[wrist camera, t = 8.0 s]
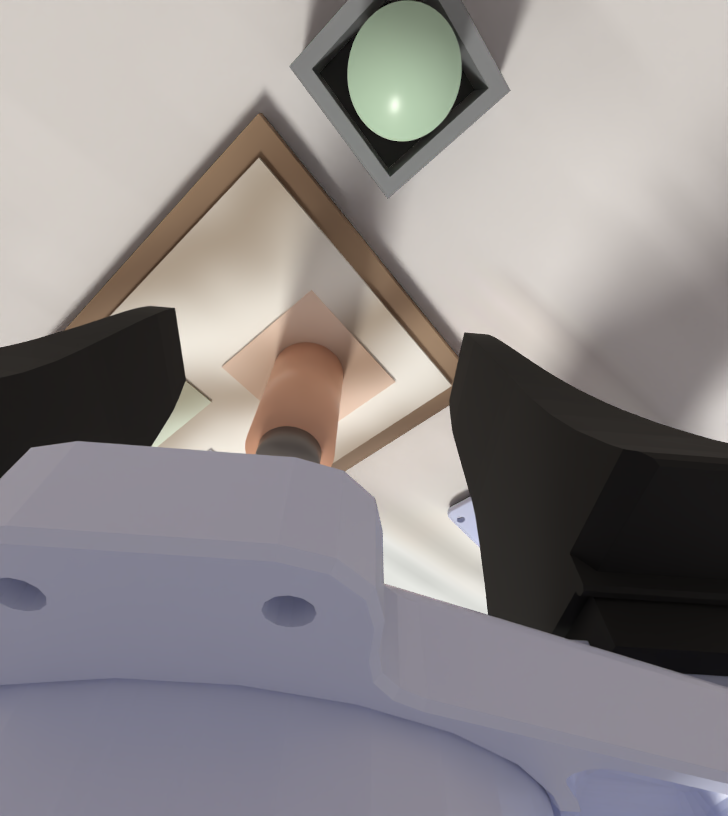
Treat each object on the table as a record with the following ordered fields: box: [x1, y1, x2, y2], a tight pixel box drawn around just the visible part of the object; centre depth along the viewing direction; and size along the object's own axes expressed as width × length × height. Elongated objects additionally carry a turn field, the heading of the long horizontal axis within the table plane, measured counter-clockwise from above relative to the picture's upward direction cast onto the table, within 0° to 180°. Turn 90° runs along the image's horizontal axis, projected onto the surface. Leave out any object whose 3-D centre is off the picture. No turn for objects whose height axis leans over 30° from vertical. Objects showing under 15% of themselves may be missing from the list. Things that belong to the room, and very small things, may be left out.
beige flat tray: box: [64, 113, 459, 471], centre depth 24 cm, size 15×21×1 cm
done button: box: [347, 0, 462, 141], centre depth 14 cm, size 3×3×3 cm
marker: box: [245, 342, 343, 467], centre depth 20 cm, size 3×3×7 cm
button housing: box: [289, 0, 511, 199], centre depth 16 cm, size 5×5×2 cm
